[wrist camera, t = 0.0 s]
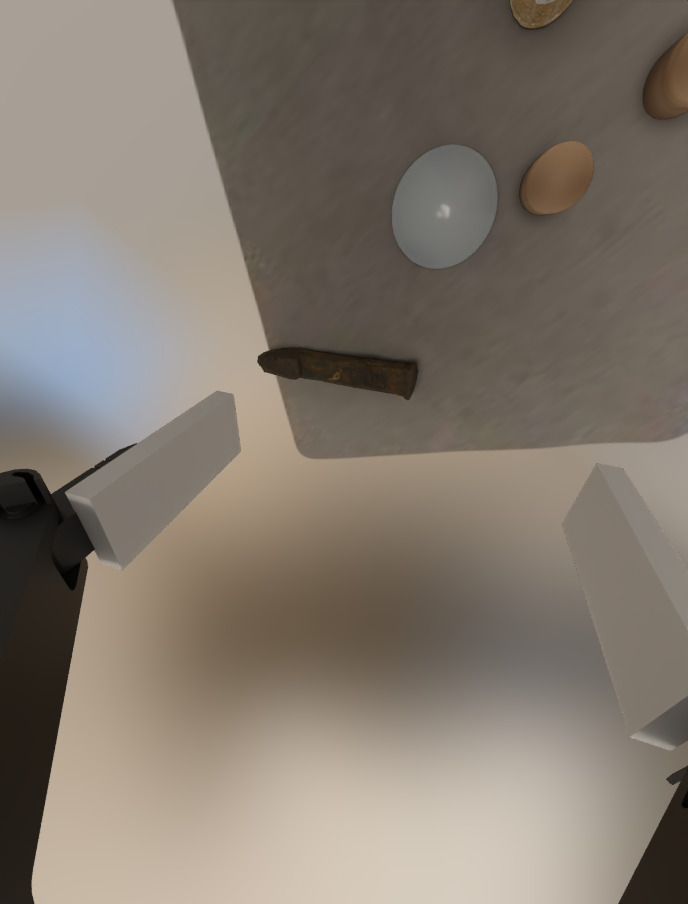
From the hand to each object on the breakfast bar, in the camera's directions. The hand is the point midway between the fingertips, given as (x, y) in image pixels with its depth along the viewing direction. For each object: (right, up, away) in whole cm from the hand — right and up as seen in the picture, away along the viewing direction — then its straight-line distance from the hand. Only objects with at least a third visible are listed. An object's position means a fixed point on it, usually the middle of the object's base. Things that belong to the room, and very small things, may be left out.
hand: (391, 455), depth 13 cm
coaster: (+7, +22, +18) cm, 29 cm away
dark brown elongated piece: (-2, +10, +29) cm, 31 cm away
